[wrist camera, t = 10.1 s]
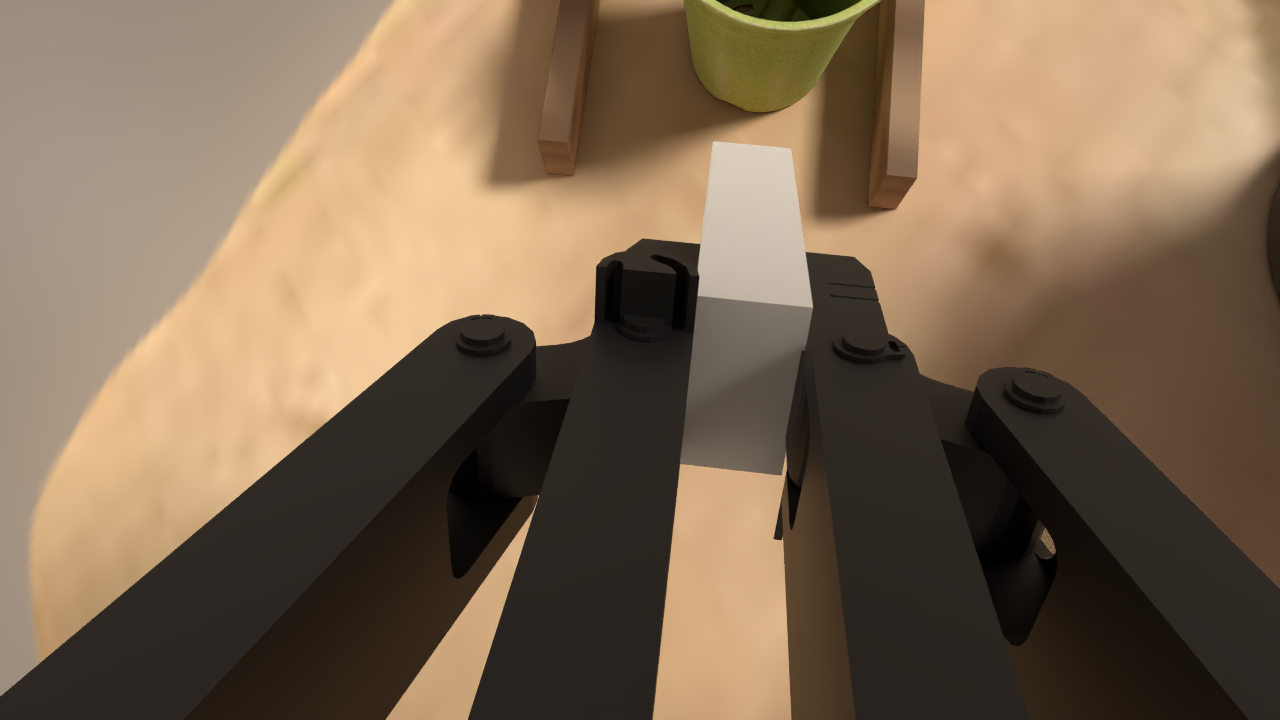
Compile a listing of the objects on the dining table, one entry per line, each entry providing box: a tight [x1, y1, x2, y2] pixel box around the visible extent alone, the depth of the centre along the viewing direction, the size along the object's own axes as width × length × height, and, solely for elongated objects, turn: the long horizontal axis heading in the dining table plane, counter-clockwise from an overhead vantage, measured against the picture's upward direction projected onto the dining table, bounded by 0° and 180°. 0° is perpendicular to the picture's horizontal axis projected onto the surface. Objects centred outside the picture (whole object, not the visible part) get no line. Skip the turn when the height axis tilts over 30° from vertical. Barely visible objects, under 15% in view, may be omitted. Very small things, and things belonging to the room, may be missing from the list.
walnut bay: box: [538, 0, 925, 209], centre depth 37 cm, size 14×15×3 cm
